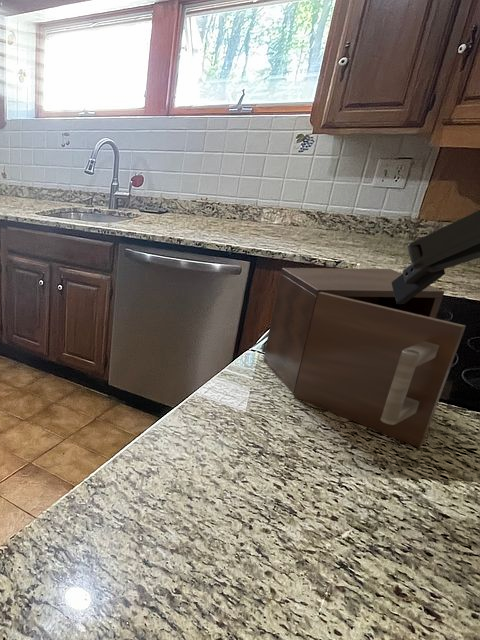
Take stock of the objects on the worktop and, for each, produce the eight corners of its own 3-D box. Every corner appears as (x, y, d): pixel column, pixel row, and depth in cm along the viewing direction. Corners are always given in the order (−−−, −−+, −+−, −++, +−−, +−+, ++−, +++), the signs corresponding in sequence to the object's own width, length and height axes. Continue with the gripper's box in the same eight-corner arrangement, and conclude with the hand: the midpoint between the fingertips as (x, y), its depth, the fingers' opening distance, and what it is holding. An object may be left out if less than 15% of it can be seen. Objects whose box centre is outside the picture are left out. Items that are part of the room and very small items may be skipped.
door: (395, 462, 69) (439, 337, 62) (269, 407, 83) (293, 299, 76) (422, 445, 72) (466, 325, 65) (296, 395, 87) (321, 291, 79)
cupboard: (408, 398, 85) (444, 291, 78) (293, 394, 87) (317, 290, 80) (362, 363, 98) (390, 268, 91) (262, 360, 100) (281, 267, 93)
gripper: (507, 198, 38) (349, 323, 58) (908, 194, 35) (600, 326, 55) (479, 118, 41) (337, 263, 60) (850, 110, 38) (576, 264, 58)
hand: (462, 293), depth 58 cm, fingers open, 13 cm apart
